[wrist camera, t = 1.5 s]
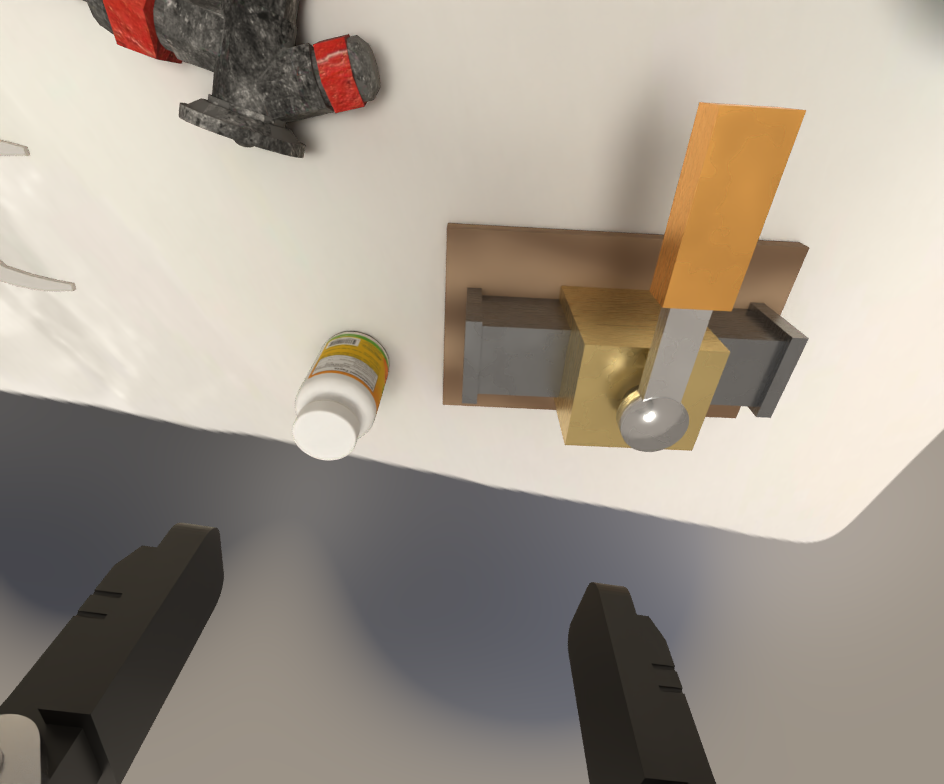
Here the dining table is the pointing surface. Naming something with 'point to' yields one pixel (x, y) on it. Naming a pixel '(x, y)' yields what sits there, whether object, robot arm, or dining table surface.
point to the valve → (247, 63)
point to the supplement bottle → (340, 395)
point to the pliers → (18, 276)
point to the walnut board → (575, 282)
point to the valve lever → (706, 253)
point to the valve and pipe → (618, 357)
